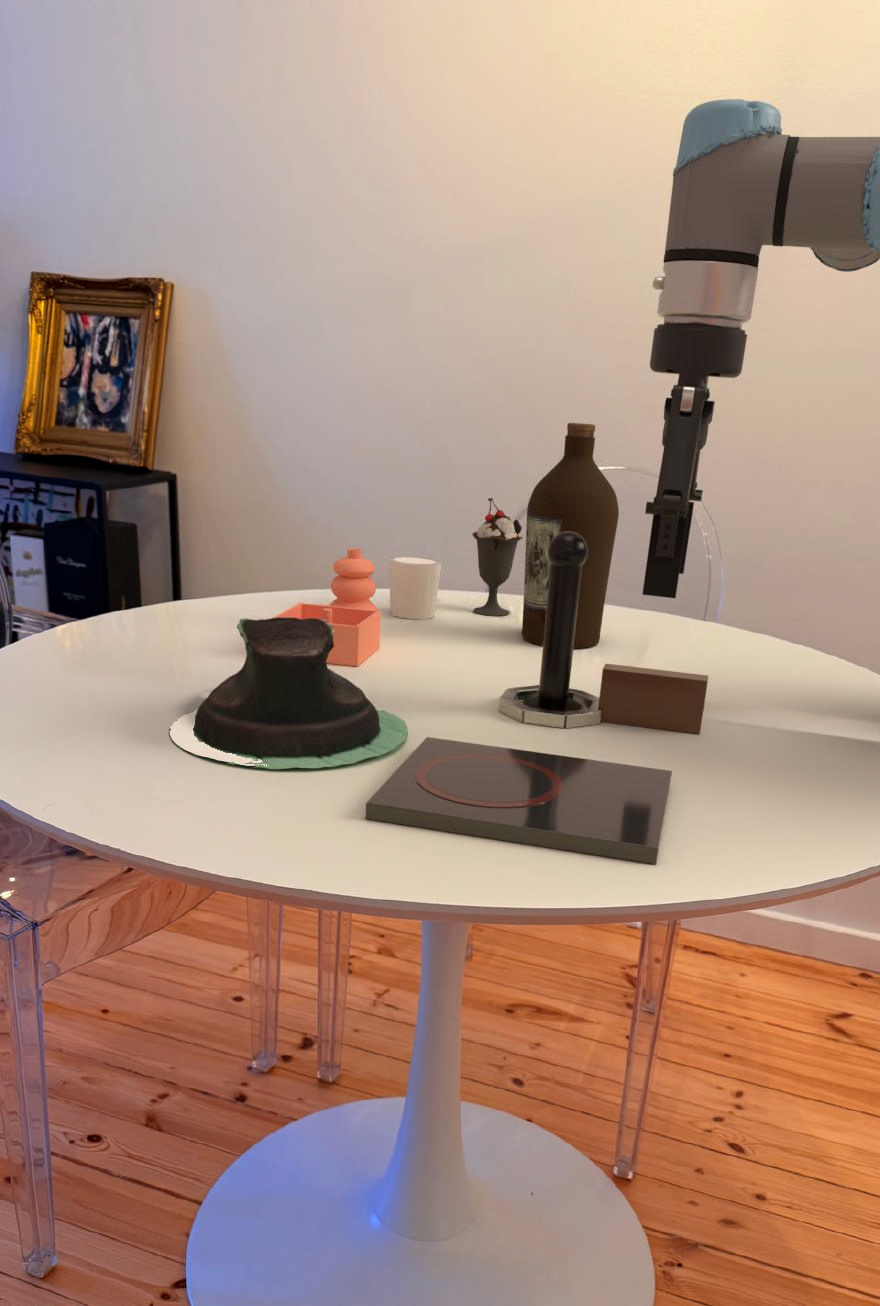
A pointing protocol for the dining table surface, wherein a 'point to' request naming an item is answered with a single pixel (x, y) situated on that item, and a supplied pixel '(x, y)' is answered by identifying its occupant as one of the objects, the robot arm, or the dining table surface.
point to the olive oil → (580, 506)
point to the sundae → (496, 556)
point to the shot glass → (413, 586)
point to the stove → (528, 799)
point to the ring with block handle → (622, 701)
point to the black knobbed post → (560, 623)
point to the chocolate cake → (293, 703)
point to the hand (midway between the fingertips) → (664, 583)
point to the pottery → (348, 611)
